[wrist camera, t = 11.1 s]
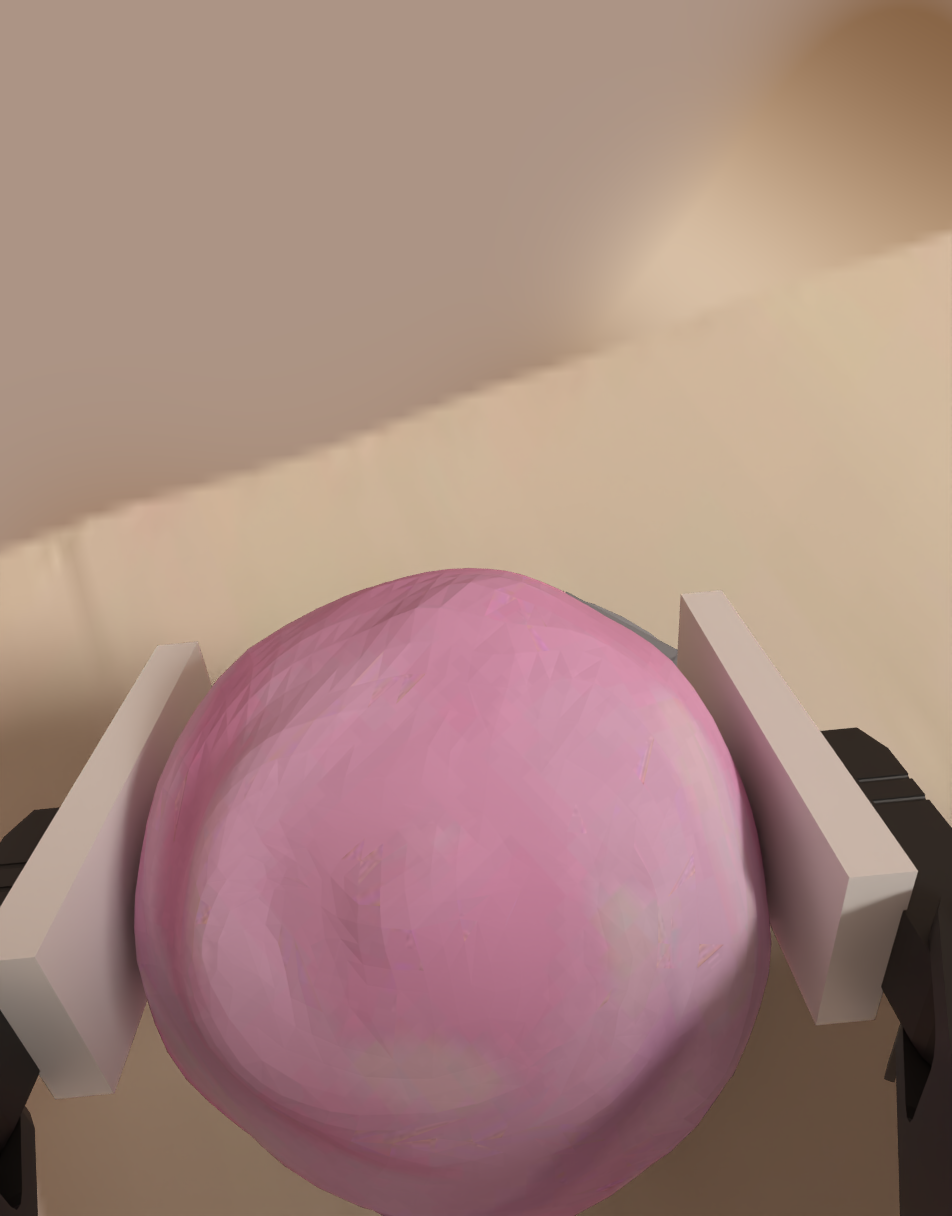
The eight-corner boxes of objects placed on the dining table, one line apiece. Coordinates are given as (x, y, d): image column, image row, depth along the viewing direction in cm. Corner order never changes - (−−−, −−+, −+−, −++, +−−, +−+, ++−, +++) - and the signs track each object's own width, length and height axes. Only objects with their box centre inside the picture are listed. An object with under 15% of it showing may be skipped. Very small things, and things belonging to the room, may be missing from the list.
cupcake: (207, 919, 17) (-165, 1048, 8) (404, 598, 19) (308, 372, 9) (555, 1147, 16) (645, 1666, 6) (730, 775, 18) (1009, 724, 8)
